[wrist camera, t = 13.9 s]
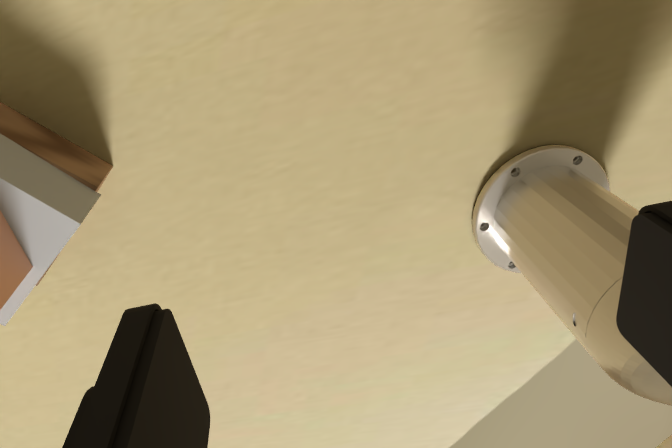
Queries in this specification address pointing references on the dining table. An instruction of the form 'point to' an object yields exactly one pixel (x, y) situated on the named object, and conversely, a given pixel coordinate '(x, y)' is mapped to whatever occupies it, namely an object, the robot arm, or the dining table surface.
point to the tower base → (53, 150)
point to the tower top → (38, 212)
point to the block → (11, 262)
